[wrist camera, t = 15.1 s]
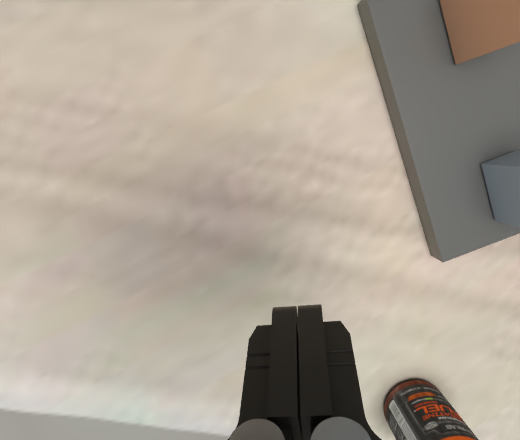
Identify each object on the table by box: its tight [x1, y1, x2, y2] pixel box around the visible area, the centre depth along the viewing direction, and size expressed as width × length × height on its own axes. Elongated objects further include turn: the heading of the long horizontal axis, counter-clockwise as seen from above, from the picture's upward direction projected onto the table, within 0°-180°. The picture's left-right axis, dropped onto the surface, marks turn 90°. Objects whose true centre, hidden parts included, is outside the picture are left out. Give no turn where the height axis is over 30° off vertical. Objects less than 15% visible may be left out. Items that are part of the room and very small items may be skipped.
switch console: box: [357, 0, 520, 262], centre depth 28 cm, size 22×14×6 cm, turn 21°
